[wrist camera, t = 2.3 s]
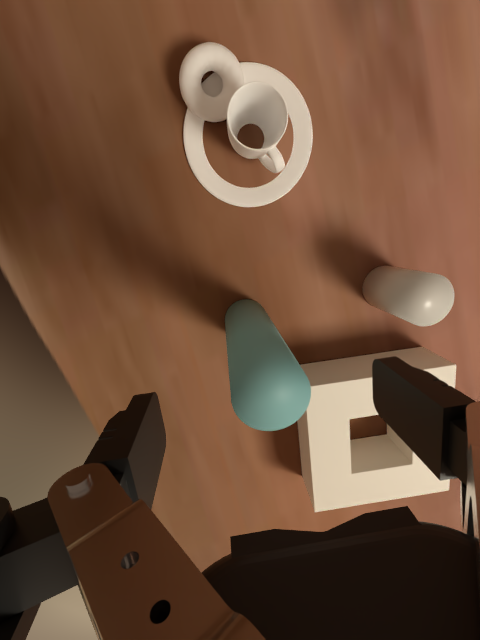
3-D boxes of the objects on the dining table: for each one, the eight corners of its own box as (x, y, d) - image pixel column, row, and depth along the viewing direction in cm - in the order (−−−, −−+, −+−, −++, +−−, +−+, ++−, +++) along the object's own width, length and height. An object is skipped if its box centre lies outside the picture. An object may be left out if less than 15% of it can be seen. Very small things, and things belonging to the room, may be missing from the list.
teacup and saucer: (165, 66, 18) (151, 20, 15) (297, 37, 19) (318, -16, 15) (201, 219, 21) (198, 215, 17) (318, 193, 21) (342, 183, 17)
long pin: (221, 302, 22) (226, 364, 11) (264, 296, 22) (308, 352, 11) (227, 342, 23) (236, 436, 12) (268, 336, 23) (313, 424, 12)
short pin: (361, 268, 22) (402, 277, 17) (403, 262, 22) (455, 270, 17) (363, 310, 23) (401, 329, 18) (403, 304, 23) (453, 322, 18)
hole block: (292, 365, 23) (304, 387, 20) (422, 346, 24) (456, 364, 20) (302, 476, 26) (314, 512, 23) (419, 457, 26) (448, 490, 23)
